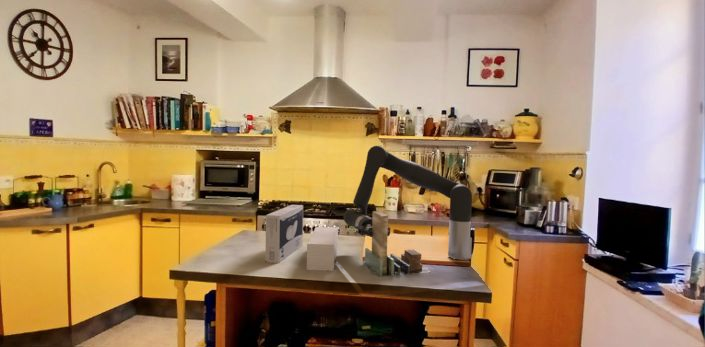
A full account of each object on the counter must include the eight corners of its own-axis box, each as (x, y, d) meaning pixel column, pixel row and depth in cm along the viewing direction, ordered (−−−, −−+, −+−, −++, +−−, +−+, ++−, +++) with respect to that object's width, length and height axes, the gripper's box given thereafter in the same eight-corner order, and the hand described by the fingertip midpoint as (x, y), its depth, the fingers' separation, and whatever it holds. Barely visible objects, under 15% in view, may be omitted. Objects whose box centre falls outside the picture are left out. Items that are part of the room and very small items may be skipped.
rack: (412, 262, 160) (413, 245, 159) (432, 275, 144) (432, 256, 143) (363, 266, 153) (363, 248, 153) (377, 280, 137) (378, 260, 136)
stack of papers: (333, 271, 147) (334, 244, 146) (306, 270, 147) (307, 243, 146) (337, 249, 179) (337, 227, 178) (315, 248, 179) (315, 226, 178)
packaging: (278, 263, 155) (279, 215, 154) (265, 261, 156) (265, 215, 155) (302, 245, 185) (303, 205, 183) (291, 244, 186) (291, 204, 185)
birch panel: (377, 264, 151) (378, 211, 149) (386, 272, 141) (388, 215, 140) (371, 265, 150) (372, 211, 149) (380, 273, 140) (381, 215, 139)
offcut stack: (412, 262, 155) (412, 248, 154) (422, 269, 146) (422, 254, 146) (400, 263, 153) (401, 249, 153) (410, 270, 145) (410, 255, 144)
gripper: (350, 217, 158) (363, 225, 142) (381, 216, 162) (397, 223, 146) (350, 234, 158) (362, 244, 142) (381, 233, 162) (397, 242, 147)
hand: (380, 234), depth 144 cm, fingers open, 6 cm apart
